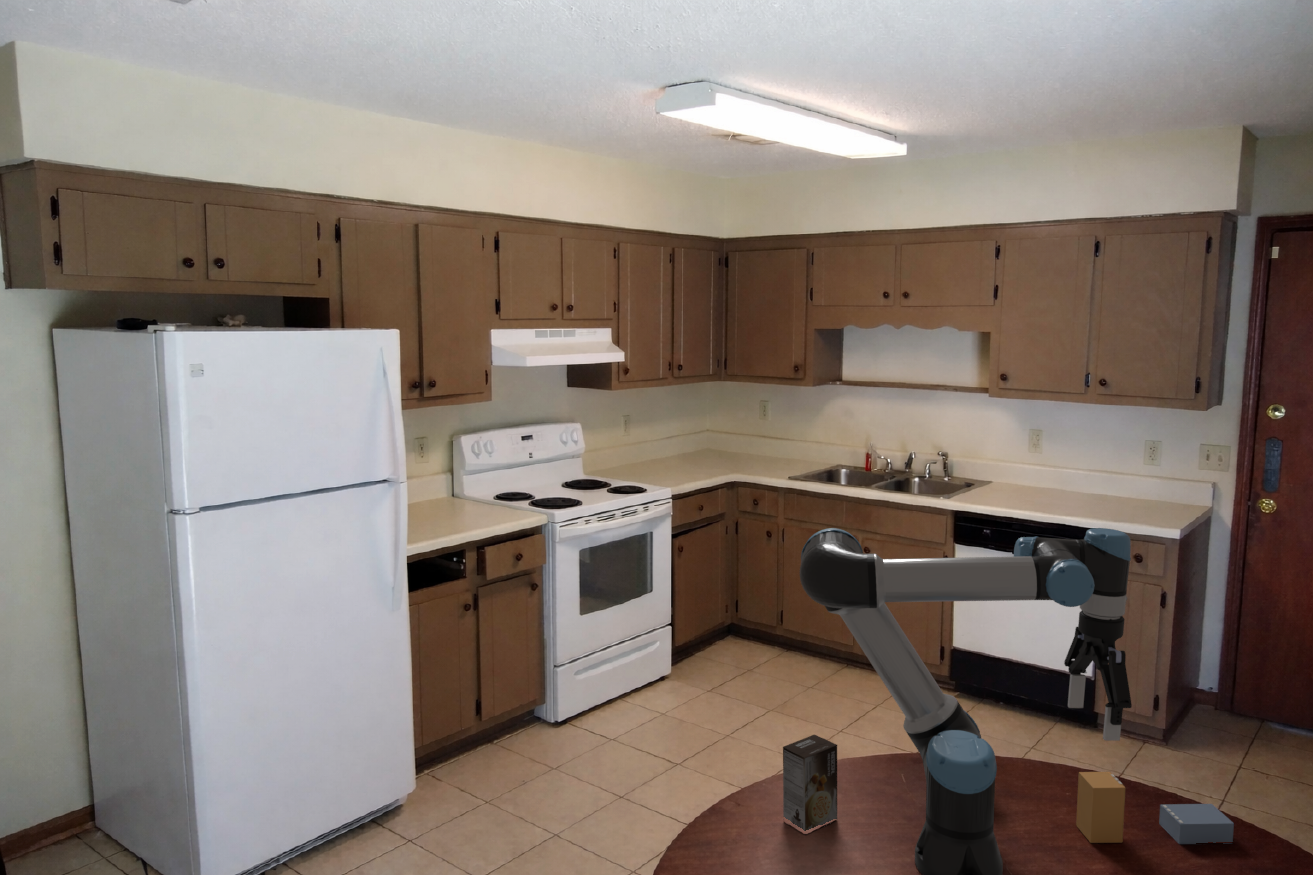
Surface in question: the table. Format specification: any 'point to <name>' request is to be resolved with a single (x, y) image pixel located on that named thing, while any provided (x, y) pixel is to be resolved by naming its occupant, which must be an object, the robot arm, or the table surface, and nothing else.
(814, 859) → the table surface
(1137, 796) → the table surface
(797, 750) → the coffee box
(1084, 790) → the orange connector module
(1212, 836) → the grey connector module
